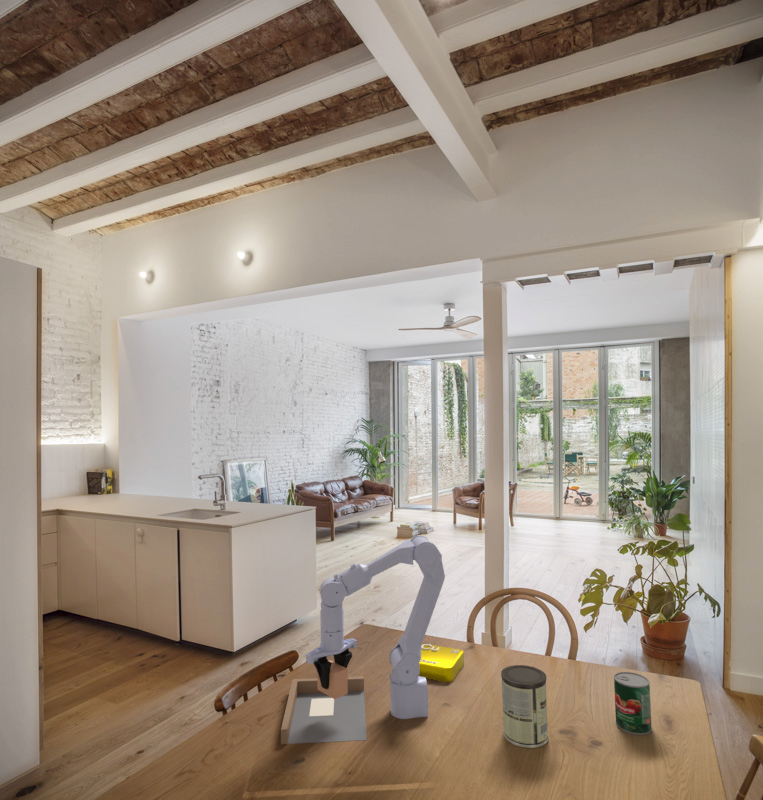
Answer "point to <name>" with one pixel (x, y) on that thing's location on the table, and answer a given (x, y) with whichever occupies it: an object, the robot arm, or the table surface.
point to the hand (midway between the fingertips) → (332, 684)
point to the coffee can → (524, 706)
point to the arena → (324, 714)
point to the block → (335, 681)
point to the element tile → (440, 662)
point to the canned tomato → (632, 703)
